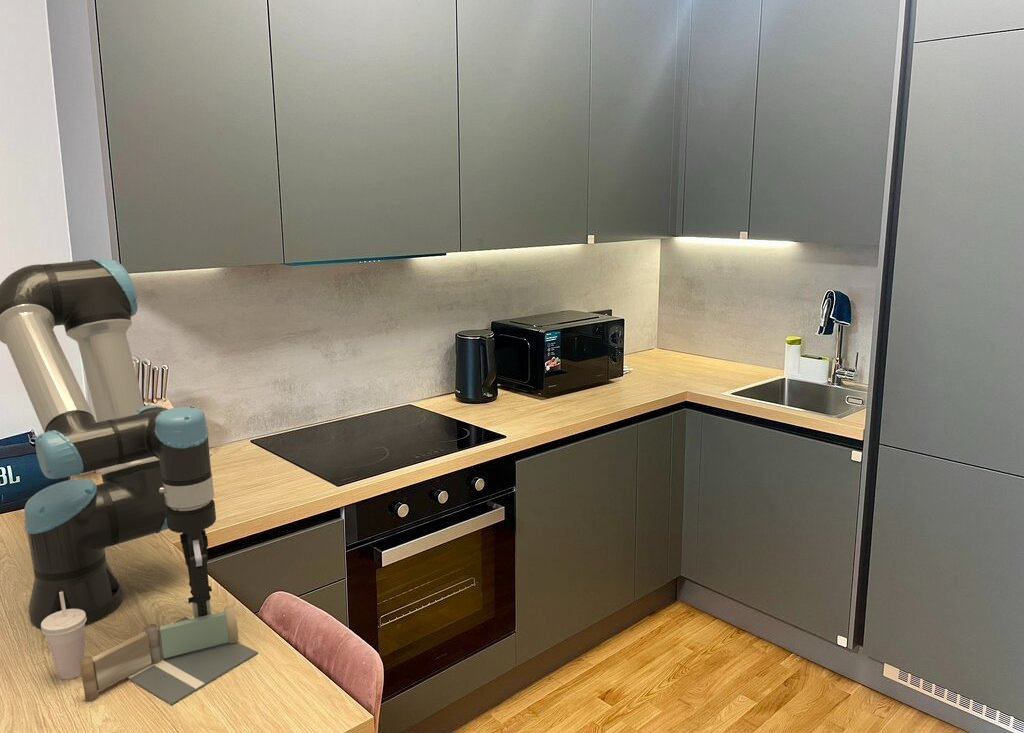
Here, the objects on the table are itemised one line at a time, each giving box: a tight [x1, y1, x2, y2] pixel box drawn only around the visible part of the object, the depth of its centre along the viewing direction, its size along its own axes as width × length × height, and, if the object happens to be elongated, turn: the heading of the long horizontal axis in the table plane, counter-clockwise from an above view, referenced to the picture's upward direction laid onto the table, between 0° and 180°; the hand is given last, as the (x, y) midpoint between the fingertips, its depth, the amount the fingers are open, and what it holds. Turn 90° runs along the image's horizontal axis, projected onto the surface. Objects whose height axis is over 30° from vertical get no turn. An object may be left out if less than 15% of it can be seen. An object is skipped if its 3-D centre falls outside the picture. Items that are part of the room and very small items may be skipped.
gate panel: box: [159, 605, 239, 658], centre depth 136 cm, size 12×2×6 cm, turn 116°
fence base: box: [79, 623, 162, 702], centre depth 129 cm, size 2×13×7 cm, turn 145°
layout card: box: [124, 616, 259, 706], centre depth 135 cm, size 20×16×1 cm
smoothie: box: [40, 592, 87, 680], centre depth 130 cm, size 6×6×14 cm
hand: (204, 631), depth 139 cm, fingers closed
